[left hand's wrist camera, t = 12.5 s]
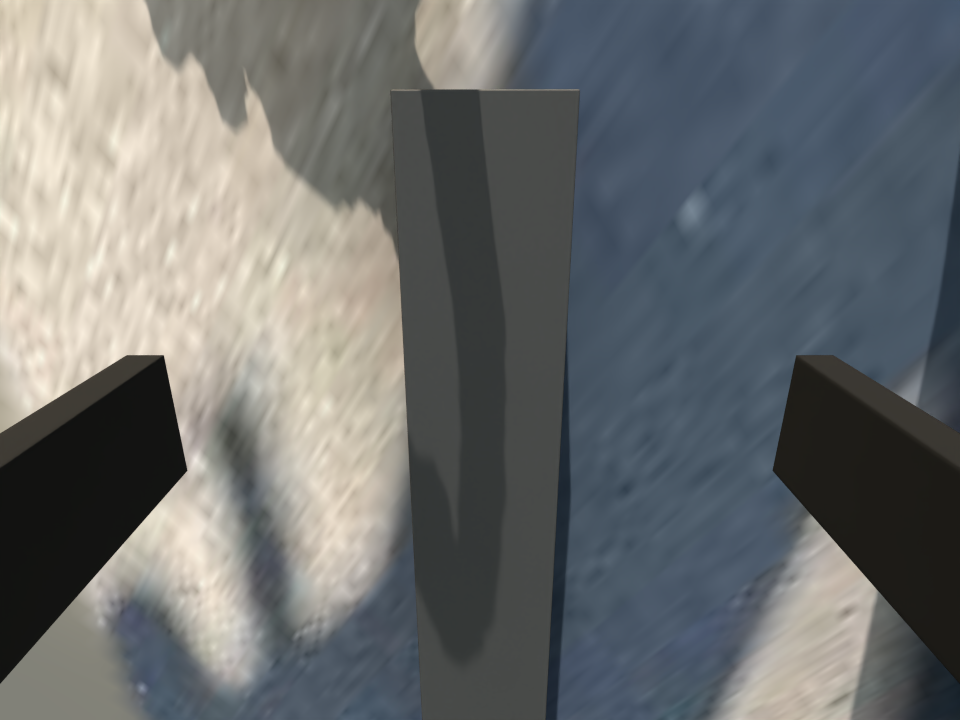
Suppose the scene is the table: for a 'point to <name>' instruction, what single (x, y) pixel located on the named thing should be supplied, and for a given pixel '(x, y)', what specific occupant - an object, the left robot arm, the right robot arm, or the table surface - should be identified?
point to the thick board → (484, 382)
